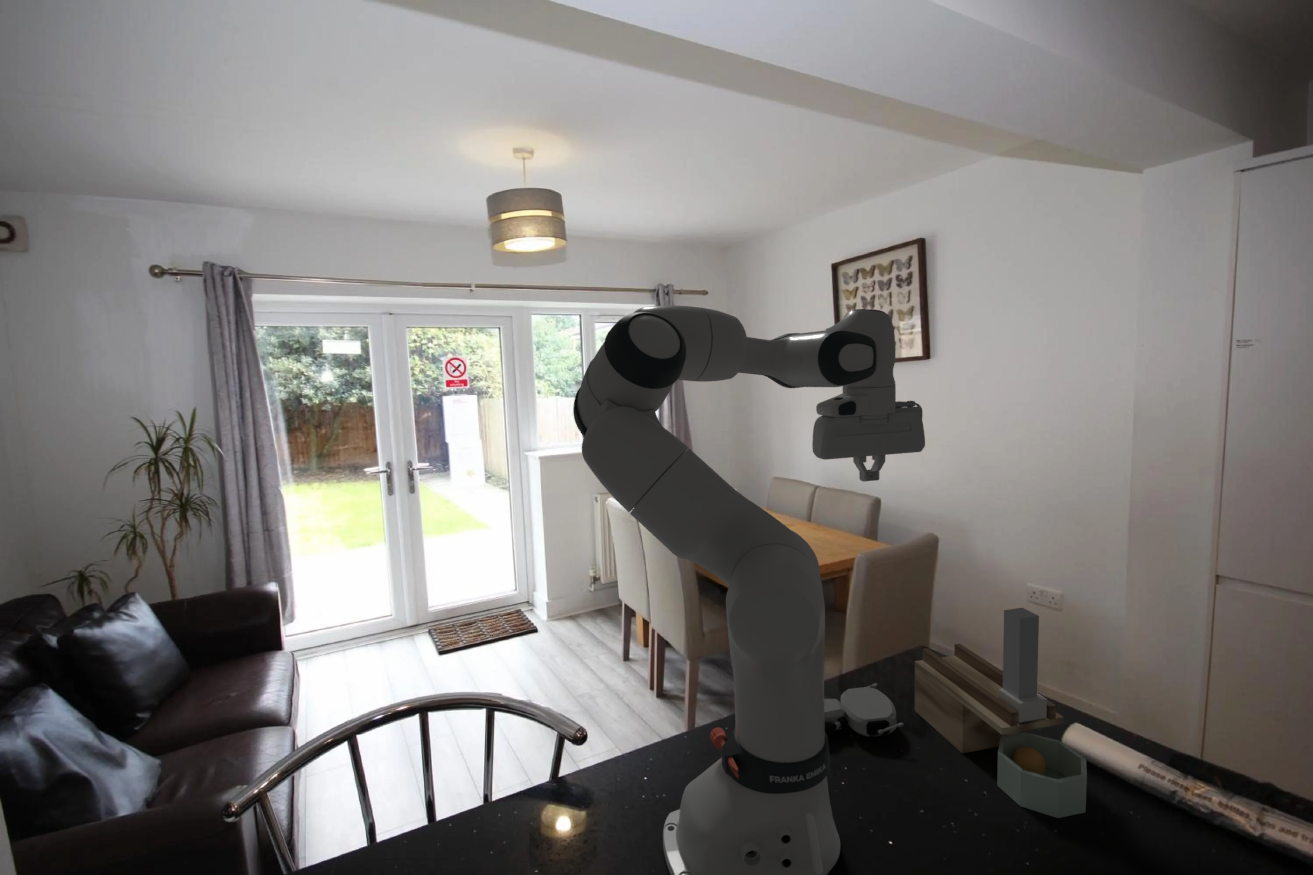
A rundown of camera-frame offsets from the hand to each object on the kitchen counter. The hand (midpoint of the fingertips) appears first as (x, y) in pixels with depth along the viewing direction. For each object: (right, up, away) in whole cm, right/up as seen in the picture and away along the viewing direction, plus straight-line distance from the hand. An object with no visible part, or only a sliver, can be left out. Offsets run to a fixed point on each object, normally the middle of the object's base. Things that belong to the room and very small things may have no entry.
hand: (869, 480), depth 108 cm
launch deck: (+13, -40, -13) cm, 44 cm away
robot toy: (-6, -41, -7) cm, 42 cm away
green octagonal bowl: (+16, -41, -24) cm, 50 cm away
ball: (+15, -39, -22) cm, 47 cm away
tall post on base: (+14, -32, -21) cm, 41 cm away
